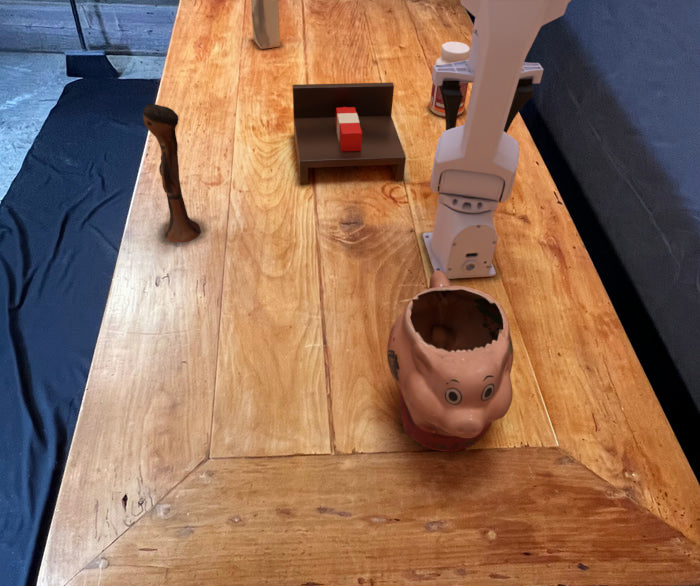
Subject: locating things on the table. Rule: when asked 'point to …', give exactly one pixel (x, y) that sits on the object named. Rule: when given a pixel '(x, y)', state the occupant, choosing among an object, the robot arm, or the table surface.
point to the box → (266, 23)
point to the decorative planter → (451, 364)
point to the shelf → (321, 134)
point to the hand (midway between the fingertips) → (475, 132)
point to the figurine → (170, 172)
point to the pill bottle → (448, 55)
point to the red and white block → (348, 129)
